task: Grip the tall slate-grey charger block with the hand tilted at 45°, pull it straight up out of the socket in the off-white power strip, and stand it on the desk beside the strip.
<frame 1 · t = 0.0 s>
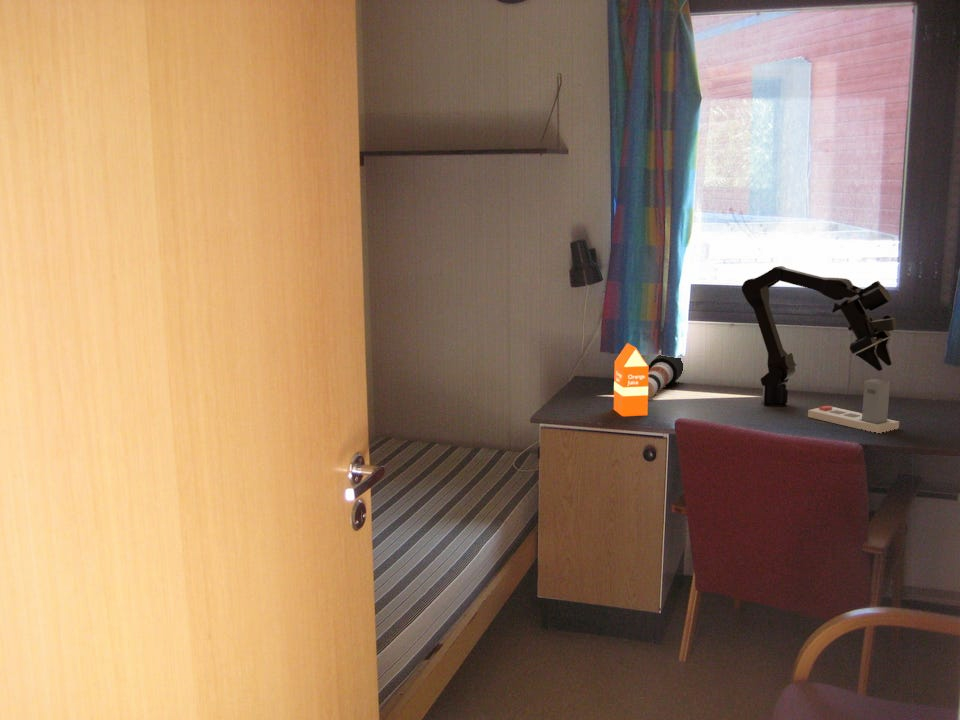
hand: (885, 367, 258), 15 cm above the table, tool tilted 35°, fingers open, 9 cm apart
charger: (873, 427, 252), resting in power strip
power strip: (851, 422, 258), on the table
telephoto camera lens: (655, 392, 299), on the table
orange juice: (630, 412, 272), on the table
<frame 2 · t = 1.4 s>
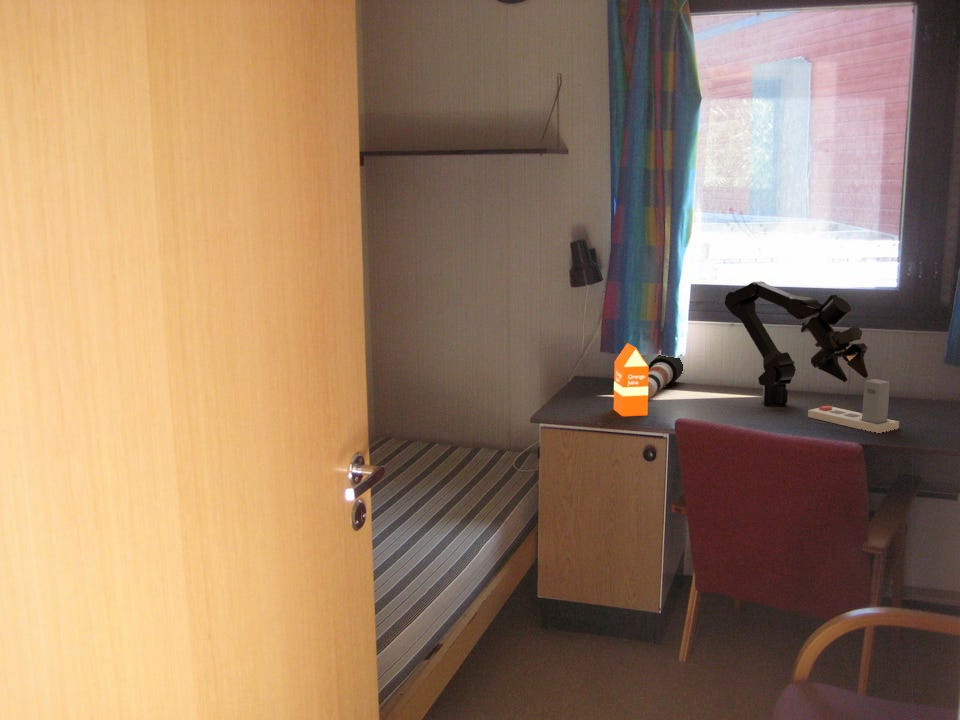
hand: (856, 379, 255), 12 cm above the table, tool tilted 45°, fingers open, 9 cm apart
nothing on the table moved.
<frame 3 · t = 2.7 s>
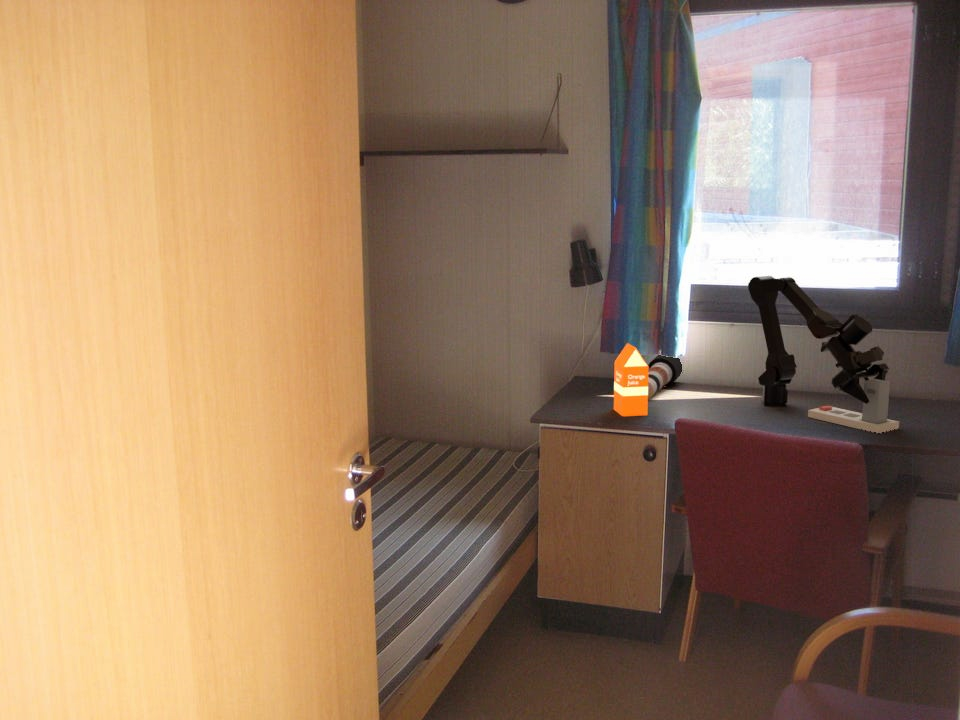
hand: (878, 400, 250), 8 cm above the table, tool tilted 45°, fingers open, 9 cm apart
nothing on the table moved.
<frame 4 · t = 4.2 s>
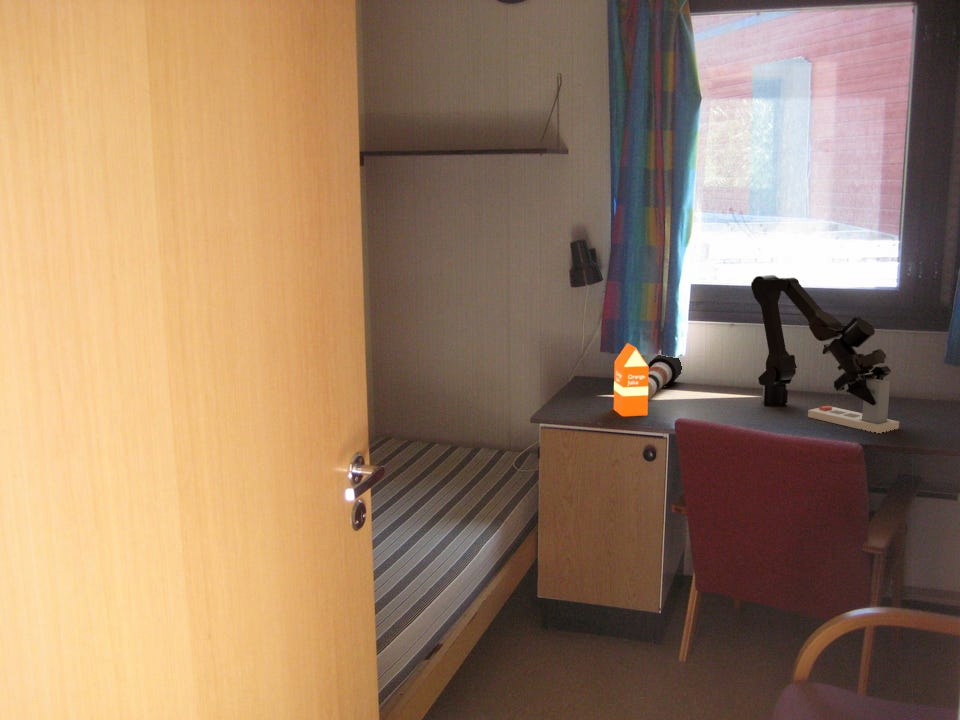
hand: (880, 403, 249), 7 cm above the table, tool tilted 45°, fingers closed on charger, 5 cm apart
charger: (873, 427, 252), resting in power strip, touching gripper
everything else where it was.
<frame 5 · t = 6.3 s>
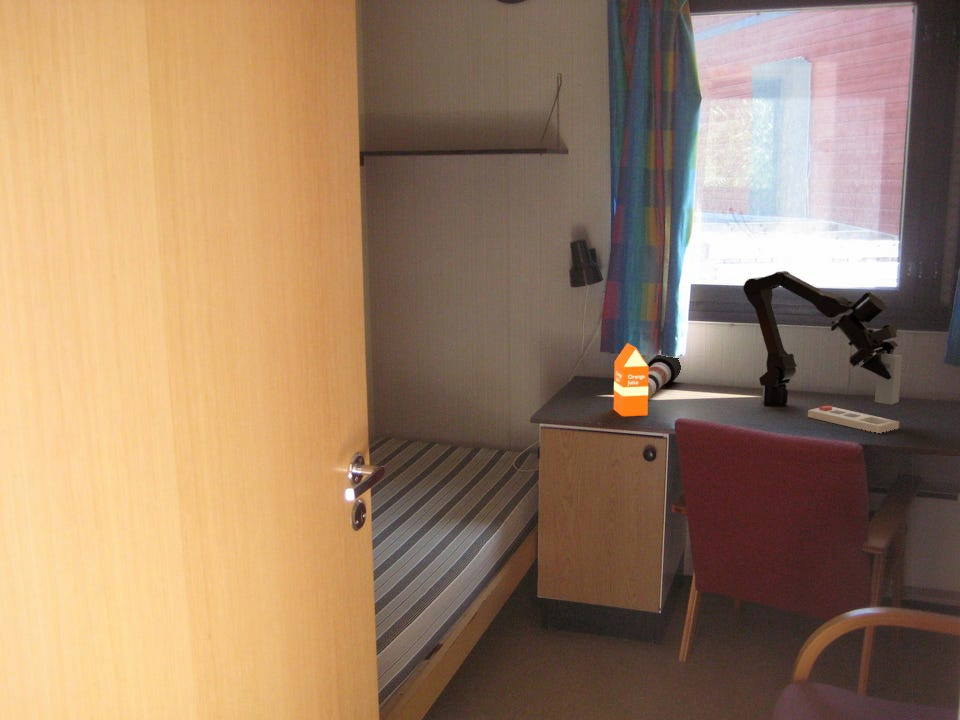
hand: (893, 377, 252), 13 cm above the table, tool tilted 45°, fingers closed on charger, 5 cm apart
charger: (886, 401, 254), point 6 cm above the table, touching gripper
everything else where it was.
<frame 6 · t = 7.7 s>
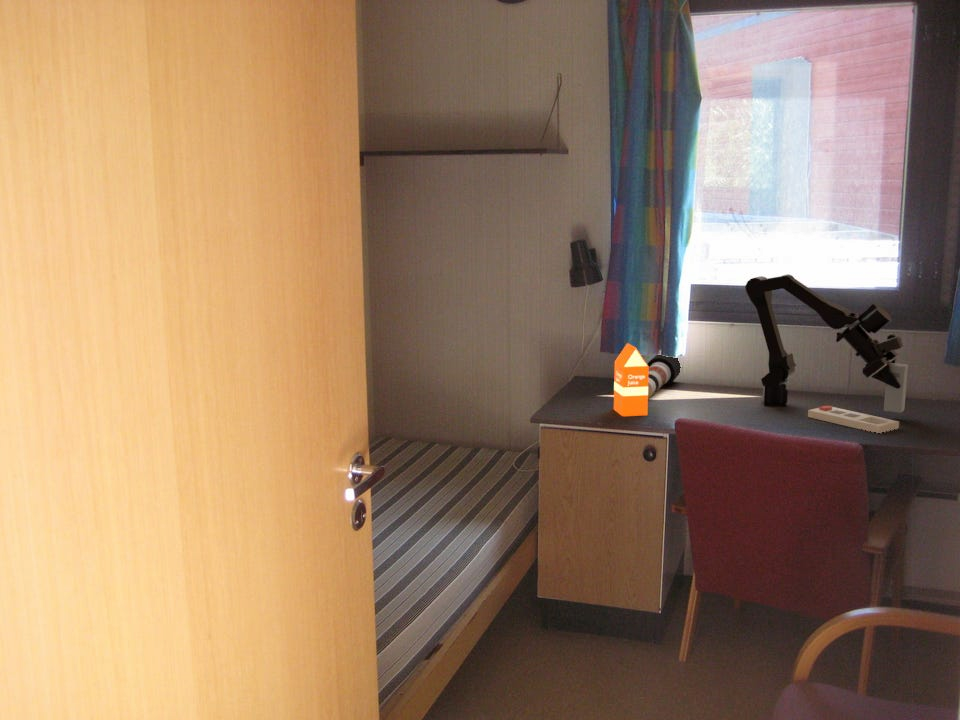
hand: (901, 386, 258), 10 cm above the table, tool tilted 45°, fingers closed on charger, 5 cm apart
charger: (893, 410, 260), point 3 cm above the table, touching gripper
everything else where it was.
when the fingers open (8 cm above the table, at t = 8.7 s): charger drops 1 cm, on the table.
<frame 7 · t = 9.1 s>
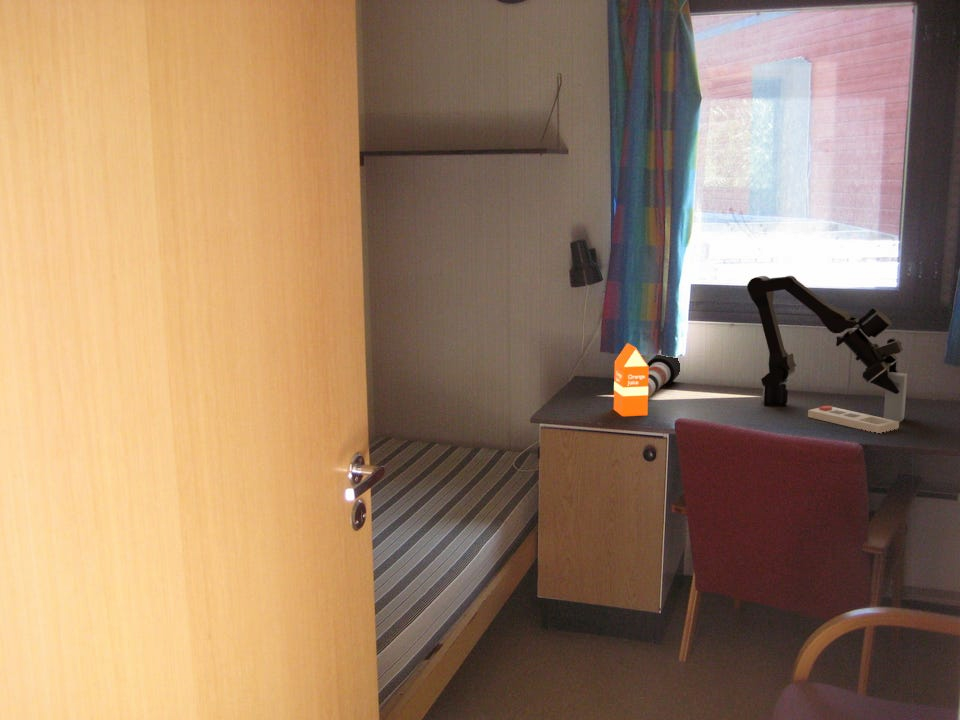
hand: (901, 390, 258), 9 cm above the table, tool tilted 45°, fingers open, 8 cm apart
charger: (893, 419, 261), on the table
everything else where it was.
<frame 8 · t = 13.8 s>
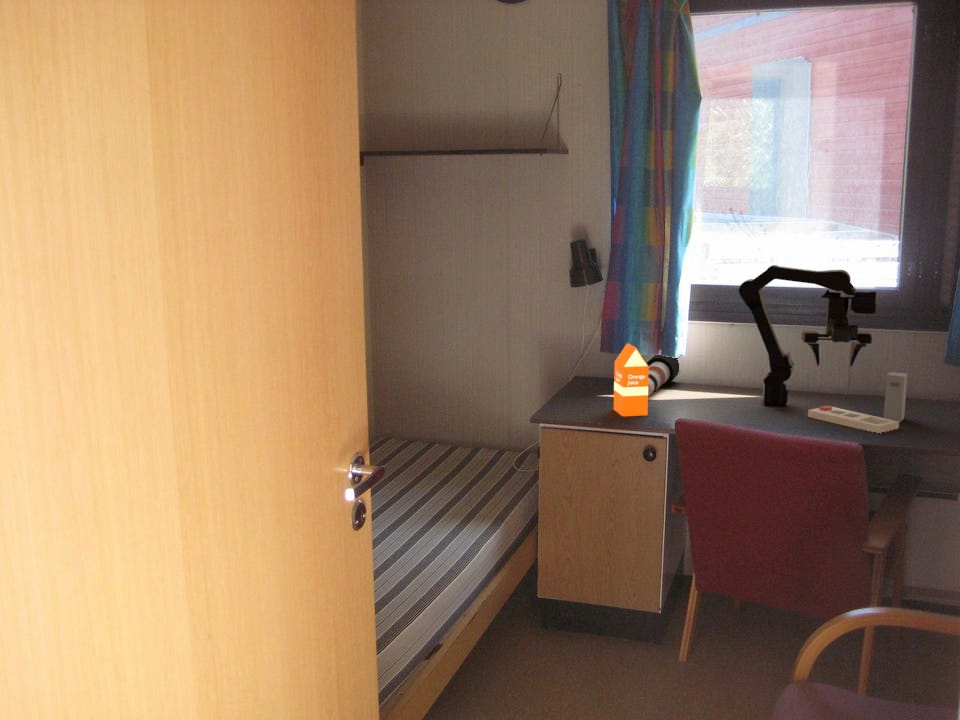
hand: (834, 366, 271), 13 cm above the table, tool pointing down, fingers open, 9 cm apart
at the end: charger inside the target area (0.2 cm from its centre), on the table; charger tilted 0°; the gripper is holding nothing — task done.
